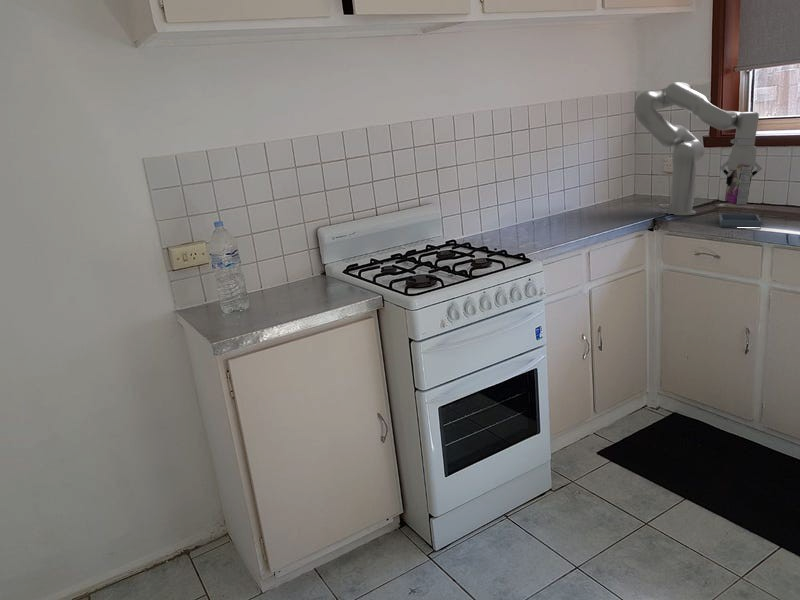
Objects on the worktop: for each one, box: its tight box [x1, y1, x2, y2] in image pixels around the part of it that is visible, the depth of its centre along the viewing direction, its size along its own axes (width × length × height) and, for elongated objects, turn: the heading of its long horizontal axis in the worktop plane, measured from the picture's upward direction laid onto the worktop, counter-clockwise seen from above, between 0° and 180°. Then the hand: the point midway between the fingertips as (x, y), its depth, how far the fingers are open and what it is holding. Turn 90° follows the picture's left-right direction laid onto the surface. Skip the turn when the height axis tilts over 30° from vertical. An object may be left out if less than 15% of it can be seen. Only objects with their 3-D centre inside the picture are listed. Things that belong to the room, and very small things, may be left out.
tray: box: [718, 213, 762, 229], centre depth 260 cm, size 14×16×3 cm
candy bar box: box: [724, 165, 753, 206], centre depth 270 cm, size 11×5×16 cm, turn 177°
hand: (737, 185), depth 271 cm, fingers closed on candy bar box, 6 cm apart
